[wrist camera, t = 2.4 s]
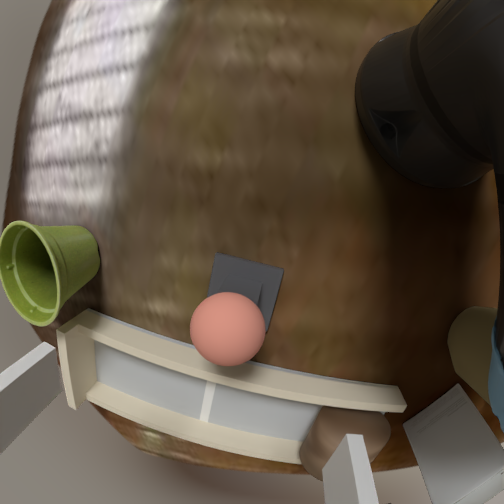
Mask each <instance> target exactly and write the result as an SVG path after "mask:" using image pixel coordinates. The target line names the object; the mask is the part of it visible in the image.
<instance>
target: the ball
mask: <svg viewBox="0 0 504 504" xmlns="http://www.w3.org/2000/svg"><path fill="white" fill-rule="evenodd" d="M190 335H191V339H192V342H193V344H194V346H195V348H196V350H197V351H198V352H199V353H200V355H201V356H203V357H204V358H205V359H206V360H208V361H209V362H211V363H214V364H216V365H220V366H236V365H240V364H243V363H245V362H247V361H249V360H250V359H251V358H252V357H254V356H255V355H256V354H257V352H258V351H259V350H260V348H261V346H262V344H263V341H264V338H265V321H264V318H263V315H262V313H261V311H260V309H259V308H258V307H257V306H256V304H255V303H254V302H253V301H251V300H250V299H249V298H247V297H245V296H243V295H241V294H238V293H233V292H222V293H217V294H214V295H212V296H210V297H208V298H206V299H205V300H204V301H202V302H201V303H200V304H199V306H198V307H197V308H196V310H195V311H194V313H193V316H192V319H191V323H190Z"/></svg>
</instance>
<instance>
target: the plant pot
mask: <svg viewBox="0 0 504 504" xmlns="http://www.w3.org/2000/svg"><path fill="white" fill-rule="evenodd" d="M99 265H100V257H99V254H98V245H97V242H96V240H95V238H94V237H93V235H92V234H91V233H90V232H89V231H88V230H87V229H85V228H84V227H81V226H42V227H39V226H37V225H32V224H30V223H28V222H25V221H15V222H12V223H10V224H9V225H8V226H7V227H6V228H5V230H4V231H3V233H2V235H1V238H0V278H1V282H2V285H3V288H4V290H5V293H6V295H7V297H8V299H9V301H10V303H11V304H12V305H13V307H14V308H15V310H16V311H17V312H18V313H19V314H20V315H21V316H22V317H23V318H24V319H25V320H27V321H28V322H30V323H31V324H34V325H37V326H46V325H49V324H50V323H52V322H53V321H54V320H55V319H56V317H57V316H58V314H59V311H60V309H61V308H62V306H63V305H64V303H65V301H67V300H68V299H69V298H70V297H71V296H72V295H73V294H74V293H75V292H77V291H78V290H79V289H80V288H81V287H83V286H84V285H85V284H86V283H87V282H89V281H90V280H91V279H92V278H93V277H94V276H95V275H96V273H97V271H98V269H99Z"/></svg>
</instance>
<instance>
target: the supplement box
mask: <svg viewBox="0 0 504 504" xmlns="http://www.w3.org/2000/svg"><path fill="white" fill-rule="evenodd" d="M403 427H404V429H405V432H406V434H407V437H408V439H409V442H410V444H411V447H412V449H413V452H414V454H415V457H416V460H417V462H418V465H419V468H420V470H421V473H422V476H423V479H424V482H425V484H426V487H427V490H428V493H429V496H430V499H431V502H432V504H484V503H485V502H487V501H488V500H490V499H491V498H493V497H494V496H496V495H497V494H498V493H500V492H501V491H502V490H504V449H503V447H502V446H501V444H500V442H499V441H498V439H497V438H496V436H495V435H494V433H493V432H492V430H491V429H490V427H489V426H488V424H487V423H486V421H485V420H484V418H483V417H482V415H481V414H480V412H479V411H478V409H477V408H476V407H475V405H474V404H473V402H472V401H471V400H470V398H469V397H468V395H467V394H466V393H465V391H464V390H463V389H462V387H461V386H460V385H459V383H458V384H456V385H455V386H454V387H453V388H452V389H450V390H449V391H448V392H447V393H445V394H444V395H443V396H442V397H440V398H439V399H438V400H436V401H435V402H434V403H432V404H431V405H430V406H428V407H427V408H425V409H424V410H423V411H421V412H420V413H418V414H417V415H416V416H414V417H413V418H411V419H410V420H408V421H406V422H405V423H403Z"/></svg>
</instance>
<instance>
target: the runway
mask: <svg viewBox="0 0 504 504" xmlns="http://www.w3.org/2000/svg"><path fill="white" fill-rule="evenodd" d="M56 332H57V341H58V349H59V357H60V364H61V370H62V376H63V381H64V387H65V392H66V397H67V401H68V405H69V406H70V407H72V408H73V409H75V410H77V409H78V408H79V407H80V405H81V404H82V403H83V402H84V401H85V400H86V399H87V400H89V401H91V402H93V403H95V404H97V405H99V406H101V407H103V408H105V409H107V410H109V411H112V412H114V413H116V414H118V415H120V416H123V417H125V418H127V419H130V420H132V421H135V422H137V423H140V424H142V425H145V426H147V427H150V428H153V429H155V430H158V431H161V432H164V433H166V434H169V435H172V436H175V437H178V438H181V439H185V440H188V441H191V442H194V443H198V444H201V445H205V446H208V447H212V448H216V449H220V450H224V451H228V452H232V453H237V454H241V455H246V456H251V457H256V458H262V459H267V460H273V461H280V462H287V463H294V464H302V463H301V461H300V457H299V451H300V447H301V445H302V443H303V441H304V440H305V438H306V436H307V434H308V432H309V430H310V429H311V427H312V425H313V423H314V421H315V419H316V417H317V415H318V413H319V411H320V409H321V408H322V406H323V405H326V406H333V407H341V408H349V409H359V410H370V411H380V412H381V413H382V414H383V415H384V414H385V412H400V413H403V412H404V410H405V409H406V407H407V404H406V402H405V400H404V398H403V396H402V394H401V392H400V390H399V388H398V386H394V385H384V384H375V383H367V382H360V381H353V380H346V379H339V378H333V377H327V376H321V375H315V374H310V373H305V372H299V371H294V370H289V369H285V368H280V367H275V366H271V365H266V364H262V363H258V362H253V361H247V362H245V363H243V364H240V365H236V366H220V365H216V364H214V363H211V362H209V361H208V360H206V359H205V358H204V357H203V356H201V355H200V353H199V352H198V351H197V350H196V348H195V346H194V345H191V344H187V343H184V342H181V341H178V340H174V339H171V338H168V337H165V336H162V335H159V334H156V333H153V332H150V331H147V330H144V329H142V328H139V327H136V326H133V325H131V324H128V323H125V322H122V321H120V320H117V319H115V318H112V317H109V316H107V315H104V314H102V313H99V312H97V311H94V310H92V309H90V308H88V309H86V310H85V311H83V312H82V313H80V314H79V315H77V316H76V317H74V318H73V319H71V320H70V321H68V322H67V323H65V324H64V325H62V326H61V327H59V328H58V329H56Z"/></svg>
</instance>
